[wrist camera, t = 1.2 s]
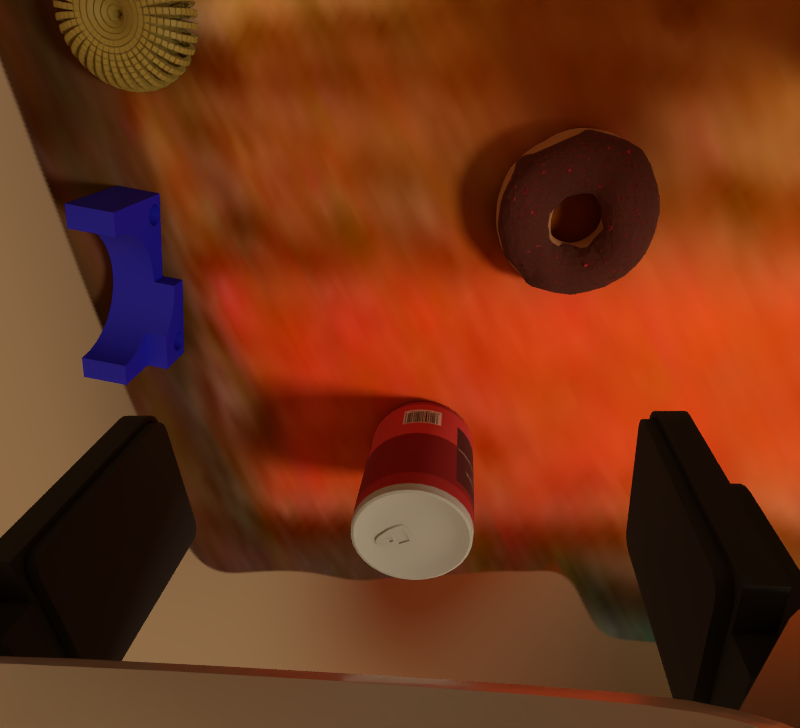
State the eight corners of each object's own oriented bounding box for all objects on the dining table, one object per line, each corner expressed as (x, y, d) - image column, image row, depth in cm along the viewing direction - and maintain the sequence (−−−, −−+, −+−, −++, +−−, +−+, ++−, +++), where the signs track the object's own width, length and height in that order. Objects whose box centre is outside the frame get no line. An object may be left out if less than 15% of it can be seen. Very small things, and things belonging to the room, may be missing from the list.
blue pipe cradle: (184, 351, 46) (147, 388, 40) (128, 340, 46) (84, 376, 40) (181, 197, 40) (138, 217, 35) (118, 185, 40) (64, 203, 35)
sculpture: (15, -75, 30) (162, -83, 29) (63, -61, 34) (195, -68, 33) (60, 95, 34) (192, 92, 33) (99, 92, 37) (219, 89, 37)
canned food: (354, 432, 47) (325, 528, 37) (430, 379, 44) (419, 468, 34) (416, 493, 49) (403, 598, 40) (492, 445, 46) (498, 547, 37)
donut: (603, 303, 40) (616, 326, 37) (470, 255, 40) (470, 274, 36) (682, 159, 36) (706, 169, 32) (533, 102, 35) (540, 106, 32)
